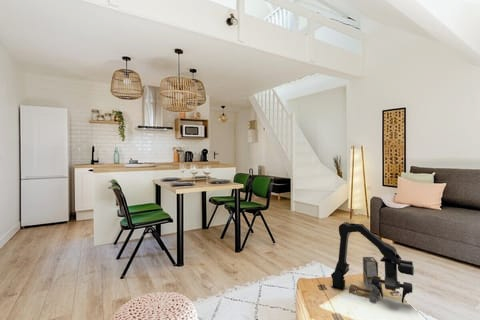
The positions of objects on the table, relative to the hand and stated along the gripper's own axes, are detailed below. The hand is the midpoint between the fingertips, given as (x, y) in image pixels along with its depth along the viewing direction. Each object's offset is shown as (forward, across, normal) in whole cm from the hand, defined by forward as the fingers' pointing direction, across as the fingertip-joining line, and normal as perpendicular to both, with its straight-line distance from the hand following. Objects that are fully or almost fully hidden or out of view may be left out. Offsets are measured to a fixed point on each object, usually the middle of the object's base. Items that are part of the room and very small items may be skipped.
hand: (392, 299), depth 137 cm
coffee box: (+1, -12, +14) cm, 19 cm away
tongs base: (+1, -14, +1) cm, 14 cm away
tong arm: (+1, -14, -1) cm, 14 cm away
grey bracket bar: (+1, -8, 0) cm, 9 cm away
